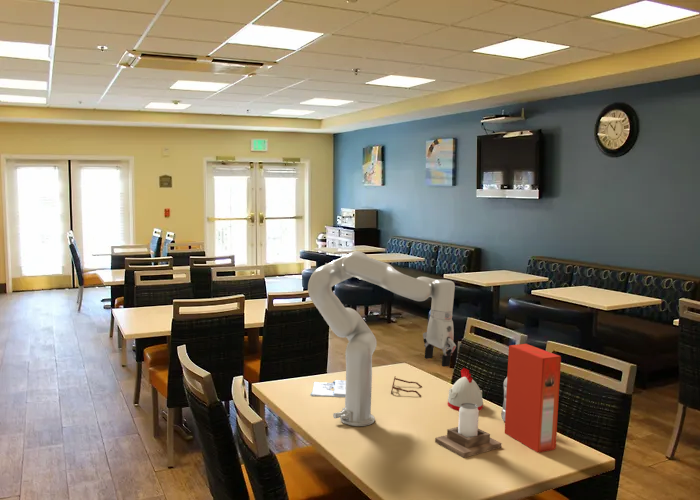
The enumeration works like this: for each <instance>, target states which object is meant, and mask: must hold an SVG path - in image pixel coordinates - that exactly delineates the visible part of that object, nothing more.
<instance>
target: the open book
mask: <svg viewBox="0 0 700 500" xmlns="http://www.w3.org/2000/svg"><path fill="white" fill-rule="evenodd" d="M332 389H334V390H332ZM345 394H346V380H345V379H344V380H343V379H341V380H340V379H335V380H334V381H333V382H320V381H314V382H313V388H312V392H311V393H310V397H329V398H330V397H331V398H345Z"/></svg>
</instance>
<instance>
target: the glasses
mask: <svg viewBox="0 0 700 500" xmlns="http://www.w3.org/2000/svg"><path fill="white" fill-rule="evenodd" d="M396 380H397V381H399V382H403V383H406V384H415V385H417V386H419V388H423V386H422V385H421V384H420V383H419V382H417V381H408V380H404V379H401V378H398V377H396V376H394V379H393V381H392V387H391V391H390V394H392V393H393V390H394V389H395V390H398V391H402V392H406V393H416V394H417V395H418V396H419V397H421V396H422V395H421V394H420V393H419V392H418V391H417V390H413V389H412V390H407V389H403V388H401V387H395V381H396Z"/></svg>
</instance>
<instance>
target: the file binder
mask: <svg viewBox="0 0 700 500" xmlns="http://www.w3.org/2000/svg"><path fill="white" fill-rule="evenodd" d="M507 356H508V357H507V375H506V377H507V393H506V413H505V421H504V434H505V435H507V436H509V437H510V438H512V439H514V440H515V441H517V442H519V444H520V443H521V444H522V445H524V446H526V447H527V448H529V449H531V450H532V451H534V452H535V453H543V452H549V451H554V450H557V432H558V418H559V417H558V415H559V412H558V411H559V399H560V398H559V397H560V381H561V380H560V379H561V364H562V363H561V362H562V357H561V355H559V354H555V353H553V352H550V351H548V350H544V349H542V348H540V347H536V346H534V345H530V344H528V343H520V344H512V345H508V355H507Z"/></svg>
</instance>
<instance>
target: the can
mask: <svg viewBox="0 0 700 500" xmlns="http://www.w3.org/2000/svg"><path fill="white" fill-rule="evenodd" d="M477 407H478V406H477V405H475V404H472V403H462V404H461V407H460V409H459V411H458V426H457V427H458V433H460V434H461V435H463V436H465V437H467V438H470V437H474V436H477V435H478V429H479V416H480V415H479V414H480V413H479V412H480V411H478V408H477Z"/></svg>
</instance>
